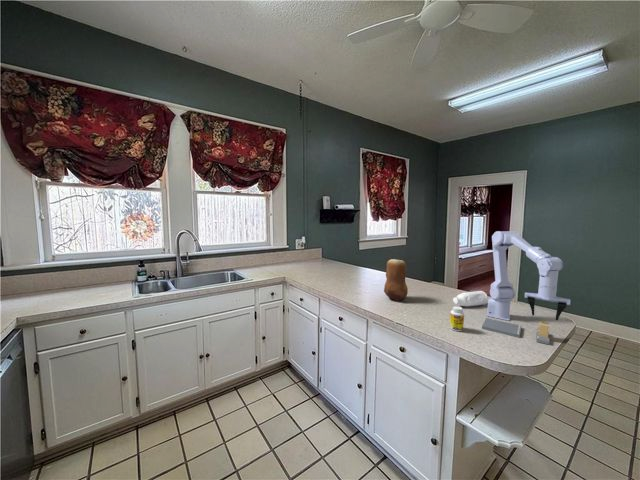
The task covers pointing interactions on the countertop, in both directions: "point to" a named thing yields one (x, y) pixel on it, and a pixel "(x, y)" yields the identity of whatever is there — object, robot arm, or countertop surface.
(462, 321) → the supplement bottle
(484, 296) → the white bottle
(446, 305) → the countertop surface
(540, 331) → the stub
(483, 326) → the grey studded panel
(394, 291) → the butternut squash
